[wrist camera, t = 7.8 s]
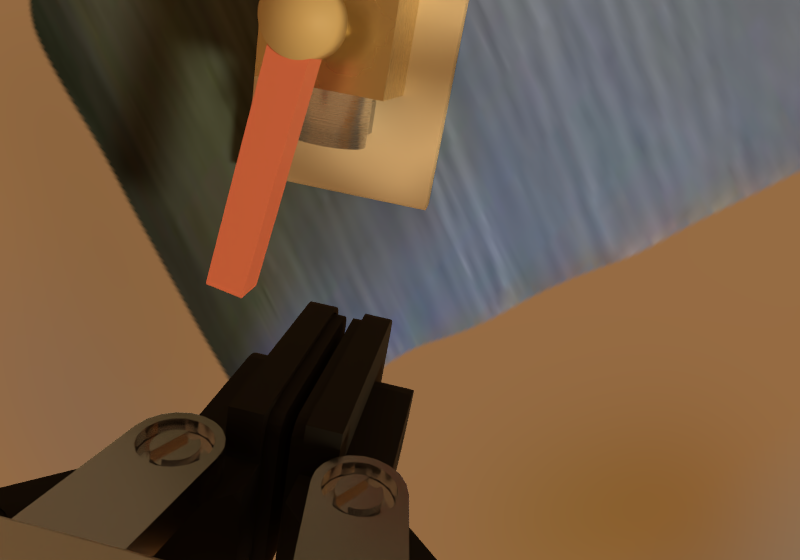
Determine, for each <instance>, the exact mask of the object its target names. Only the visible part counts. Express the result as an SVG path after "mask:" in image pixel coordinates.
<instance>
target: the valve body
mask: <svg viewBox="0 0 800 560" xmlns="http://www.w3.org/2000/svg"><path fill="white" fill-rule="evenodd" d="M419 1H420V0H343V2H344V4H345V6H346V9H347V14H348V30H347V34H346V37H345V39H344V41H343V43H342V45H341V46H340V48H339V49H338V50H337V51H336V52H335V53H334V54H332V55H331V56H329V57H327V58H325V59H322V60H321V64H320V67H319V71H318V74H317V78H316V81H315V84H314V88H313V91H312V95H311V98H310V102H309V105H308V109H307V112H306V115H305V119H304V122H303V126H302V129H301V133H300V136H299V141H302V142H306V143H310V144H314V145H318V146H324V147H330V148H337V149H348V150H359V149H364V148H365V147H366V140H367V135H368V134H370V133H372V127H373V121H374V114H375V108H376V101H374V100H379V101H386V100H390V99H393V98H397V97H401V96H403V94H404V89H405V83H406V77H407V71H408V65H409V59H410V53H411V48H412V42H413V36H414V30H415V24H416V18H417V13H418V7H419ZM266 46H267V42H266V41H265V39H264V37H263V35H262V33H261V31H260V27H259V30H258V42H257V54H256V65H255V76H257V77H259V74H260V70H261V66H262V62H263V58H264V54H265V50H266ZM373 99H374V100H373Z"/></svg>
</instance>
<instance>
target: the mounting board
mask: <svg viewBox="0 0 800 560" xmlns="http://www.w3.org/2000/svg"><path fill="white" fill-rule="evenodd" d="M468 2H469V0H420V1H419V7H418V13H417V18H416V24H415V30H414V36H413V42H412V48H411V53H410V59H409V65H408V71H407V77H406V83H405V89H404V94H403V96H401V97H397V98H393V99H390V100H386V101H379V100H374V99H373V100H374V101H376V108H375V114H374V121H373V127H372V133H370V134H368V135H367V140H366V147H365V148H364V149H359V150H348V149H337V148H330V147H324V146H318V145H314V144H310V143H306V142H302V141H299V140H298V143H297V146H296V150H295V153H294V157H293V160H292V164H291V167H290V171H289V174H288V177H287V181H290V182H294V183H299V184H304V185H309V186H313V187H318V188H323V189H328V190H332V191H337V192H342V193H346V194H351V195H356V196H361V197H365V198H370V199H375V200H380V201H384V202H389V203H394V204H398V205H403V206H408V207H413V208H417V209H422V210H426V208H427V206H428V204H429V199H430V194H431V189H432V184H433V179H434V174H435V169H436V164H437V159H438V154H439V149H440V143H441V138H442V133H443V128H444V123H445V118H446V113H447V108H448V103H449V98H450V93H451V88H452V83H453V78H454V73H455V68H456V62H457V57H458V52H459V47H460V42H461V37H462V32H463V27H464V22H465V17H466V12H467V7H468ZM258 30H259V29H258ZM257 42H258V41H257ZM256 54H257V52H256ZM255 65H256V64H255ZM257 81H258V77H257V76H254V87H253V97H254V93H255V89H256V85H257ZM252 101H253V99H252Z"/></svg>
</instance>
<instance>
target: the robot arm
mask: <svg viewBox="0 0 800 560" xmlns="http://www.w3.org/2000/svg"><path fill="white" fill-rule="evenodd" d="M391 326H392V320H390V319H386V318H382V317H377V316H373V315H369V314H365V315H364V317H363V319H362V320H359V319H354V318H353V320H352V322H351V323H350V325H349V327H348V329H347V330H346V332H345V327H346V317H345V316H341V315H338V308H337V307H334V306H329V305H325V304H320V303H316V302H312V301H311V302H310V303H309V304H308V305H307V306H306V308H305V309H304V310H303V311H302V313H301V314H300V315H299V316H298V318H297V319H296V320H295V322H294V323H293V324H292V325H291V327H290V328H289V329H288V330H287V332H286V333H285V334H284V335H283V337H282V338H281V339H280V341H279V342H278V343H277V344H276V346H275V347H274V348H273V349H272V351H271V352H270V353H269V355H264V354H260V353H252V354H251V355H250V356H249V357H248V358H247V359H246V361H245V362H244V363H243V364H242V365H241V366H240V368H239V369H238V370H237V371H236V372H235V374H234V375H233V376H232V377H231V378H230V379H229V381H228V382H227V383H226V384H225V385H224V386H223V388H222V389H221V390H220V391H219V392H218V394H217V395H216V396H215V397H214V398H213V399H212V401H211V402H210V403H209V404H208V405H207V407H206V408H205V409H204V410H203V411H202V413H201V414H200V415H196V414H192V413H168V414H161V415H158V416H155V417H152V418H148V419H146V420H144V421H143V422H141V423H139V424H137V425H135V426H134V427H133V428H131V429H130V430H129V431H127V432H126V433H125V434H123V435H122V436H121V437H119V438H118V439H117V440H115V441H114V442H113V443H112V444H110V445H109V446H107V447H106V448H105V449H103V450H102V451H101V452H99V453H98V454H97V455H95V456H94V457H93V458H91V459H90V460H89V461H87V462H86V463H85V464H84V465H82V466H81V467H79V468H78V469H75V470H71V471H67V472H63V473H58V474H54V475H51V476H46V477H42V478H38V479H34V480H30V481H26V482H22V483H18V484H14V485H10V486H6V487H1V488H0V560H273V557H274V555H275V553H276V560H437V559H436V558H435V557H434V556H433V555H432V554H431V552H430V551H429V550H428V549H427V548H426V547H425V545H424V544H423V543H422V542H421V541H420V540H419V538H418V537H417V536H416V535H415V534H414V532H413V531H412V530H411V529H410V528H409V494H408V489H407V485H406V483H405V482H404V480H403V478H402V477H401V475H400V474H399V473H398V472H396V469H397V465H398V461H399V456H400V452H401V448H402V443H403V439H404V435H405V430H406V426H407V421H408V417H409V411H410V407H411V402H412V397H413V392H414V390H411V389H407V388H403V387H398V386H394V385H389V384H386V383H382V382H381V380H382V374H383V369H384V364H385V358H386V353H387V348H388V343H389V337H390V332H391ZM344 333H345V334H344ZM276 551H277V552H276Z"/></svg>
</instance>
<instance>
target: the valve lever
mask: <svg viewBox="0 0 800 560" xmlns="http://www.w3.org/2000/svg"><path fill="white" fill-rule="evenodd" d="M258 23H259V27H260V31H261V33H262V35H263V37H264V39H265V41H266V42H267V46H266V50H265V54H264V58H263V62H262V66H261V70H260V74H259V77H258V81H257V85H256V89H255V93H254V97H253V101H252V105H251V109H250V113H249V117H248V121H247V125H246V128H245V132H244V136H243V140H242V144H241V148H240V152H239V156H238V160H237V164H236V168H235V172H234V175H233V179H232V183H231V187H230V191H229V195H228V199H227V203H226V207H225V211H224V215H223V219H222V223H221V226H220V230H219V234H218V238H217V242H216V246H215V250H214V254H213V258H212V262H211V266H210V270H209V273H208V277H207V281H206V284H208V285H210V286H213V287H215V288H218V289H220V290H223V291H225V292H228V293H230V294H233V295H235V296H237V297H240V298H242V297H243V296H245V295H246V294H247V293H248V292H249V291H250V290H251V289H253V288H254V287H255V286H256V284H257V281H258V277H259V274H260V271H261V267H262V264H263V260H264V257H265V253H266V250H267V246H268V243H269V240H270V236H271V233H272V229H273V226H274V222H275V219H276V215H277V212H278V209H279V205H280V202H281V198H282V195H283V191H284V188H285V184H286V181H287V177H288V174H289V171H290V167H291V164H292V160H293V157H294V153H295V150H296V146H297V143H298V140H299V136H300V133H301V129H302V126H303V122H304V119H305V115H306V112H307V109H308V105H309V102H310V98H311V95H312V91H313V88H314V84H315V81H316V78H317V74H318V71H319V67H320V64H321V60H322V59H325V58H327V57H329V56H331V55H332V54H334V53H335V52H336V51H337V50H338V49H339V48H340V46H341V45H342V43H343V41H344V39H345V37H346V34H347V30H348V14H347V9H346V6H345V4H344V2H343V0H260V1H259V5H258Z"/></svg>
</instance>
